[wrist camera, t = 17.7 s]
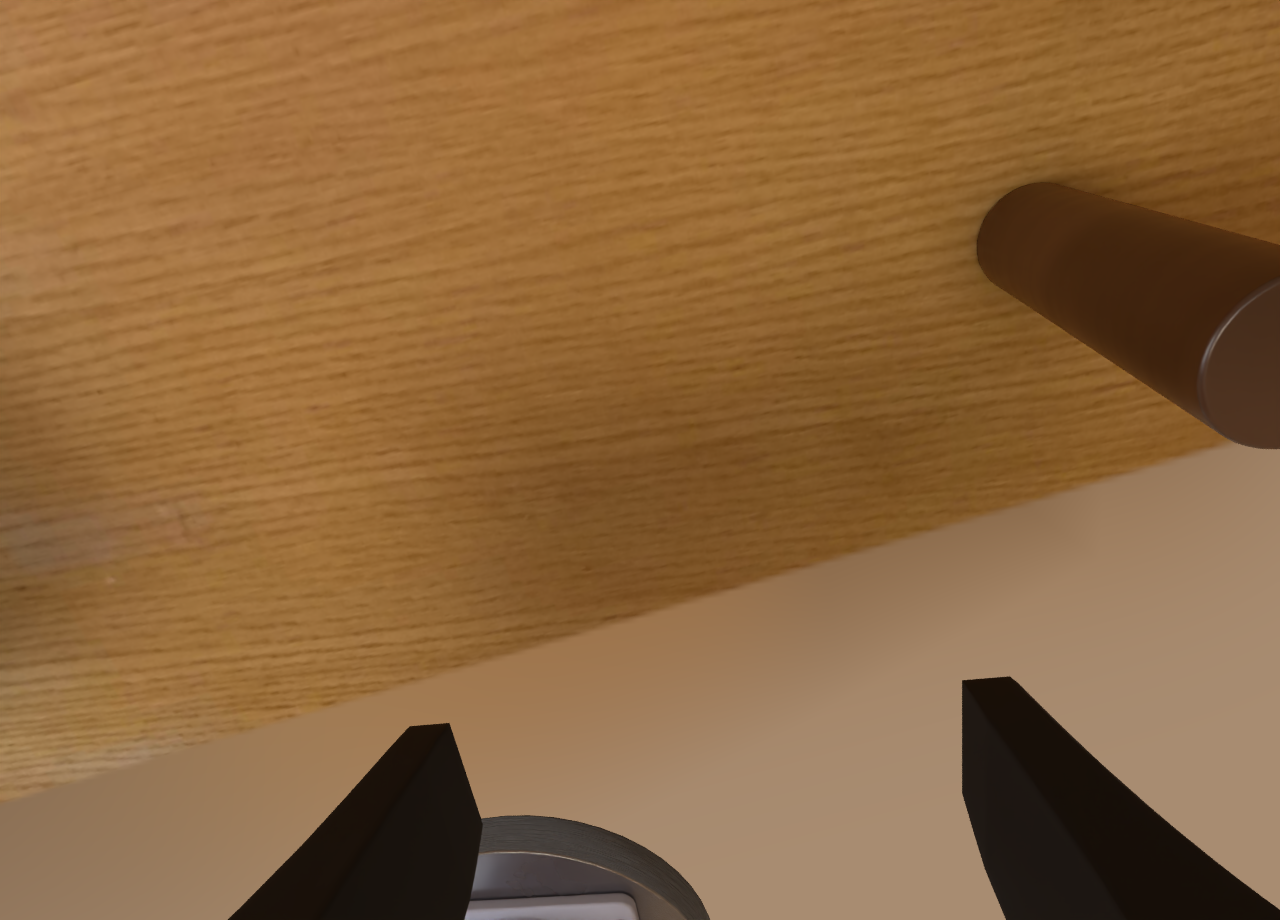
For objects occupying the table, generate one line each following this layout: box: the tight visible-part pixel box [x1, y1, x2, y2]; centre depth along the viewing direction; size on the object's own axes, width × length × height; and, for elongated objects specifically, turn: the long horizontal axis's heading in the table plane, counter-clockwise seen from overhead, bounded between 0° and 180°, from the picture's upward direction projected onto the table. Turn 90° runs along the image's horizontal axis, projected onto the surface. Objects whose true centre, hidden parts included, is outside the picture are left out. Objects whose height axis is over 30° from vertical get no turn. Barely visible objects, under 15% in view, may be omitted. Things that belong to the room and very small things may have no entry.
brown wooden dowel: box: [977, 183, 1280, 449], centre depth 14 cm, size 2×2×9 cm
